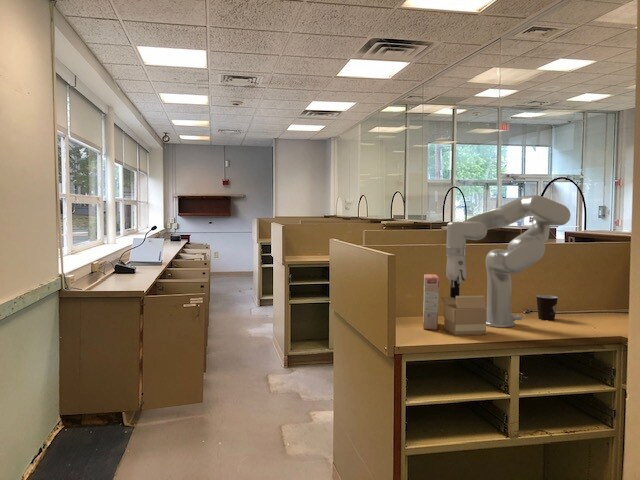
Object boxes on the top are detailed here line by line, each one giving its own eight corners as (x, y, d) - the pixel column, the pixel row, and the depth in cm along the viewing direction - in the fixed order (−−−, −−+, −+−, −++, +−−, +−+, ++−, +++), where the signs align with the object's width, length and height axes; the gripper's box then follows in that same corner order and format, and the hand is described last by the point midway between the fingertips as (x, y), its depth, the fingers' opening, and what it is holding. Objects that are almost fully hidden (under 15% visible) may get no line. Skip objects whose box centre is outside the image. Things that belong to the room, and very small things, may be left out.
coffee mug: (544, 321, 211) (545, 298, 211) (531, 317, 219) (532, 295, 219) (567, 320, 214) (568, 297, 213) (553, 316, 222) (554, 294, 222)
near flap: (457, 308, 184) (457, 308, 184) (455, 296, 186) (456, 295, 185) (485, 308, 186) (485, 307, 185) (483, 295, 187) (484, 295, 187)
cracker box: (438, 330, 194) (439, 277, 193) (423, 329, 195) (423, 277, 194) (437, 323, 207) (438, 273, 206) (422, 322, 209) (423, 273, 208)
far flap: (472, 303, 197) (471, 304, 197) (467, 296, 201) (467, 297, 202) (445, 304, 196) (445, 305, 196) (441, 297, 200) (441, 298, 200)
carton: (474, 328, 197) (474, 303, 197) (487, 335, 186) (487, 308, 186) (443, 329, 196) (443, 304, 195) (454, 335, 185) (454, 309, 184)
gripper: (472, 253, 192) (471, 300, 193) (457, 251, 207) (456, 294, 208) (454, 253, 191) (453, 300, 192) (440, 250, 206) (439, 294, 207)
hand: (454, 296), depth 200 cm, fingers closed
